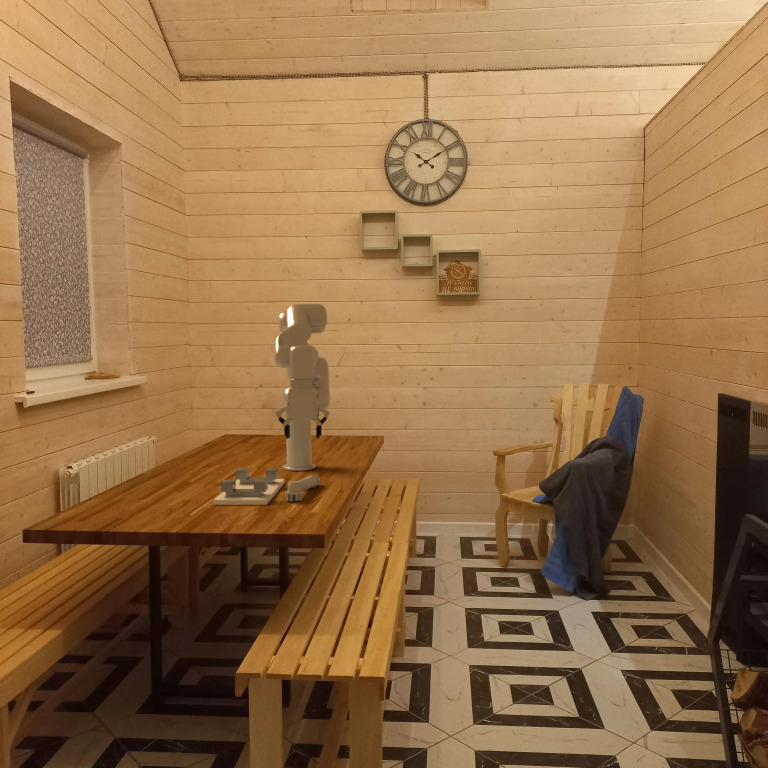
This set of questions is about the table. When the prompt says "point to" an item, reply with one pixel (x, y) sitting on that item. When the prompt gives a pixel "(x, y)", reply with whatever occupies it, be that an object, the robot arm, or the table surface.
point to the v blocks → (244, 478)
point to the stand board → (250, 500)
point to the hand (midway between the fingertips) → (303, 438)
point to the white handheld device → (301, 487)
